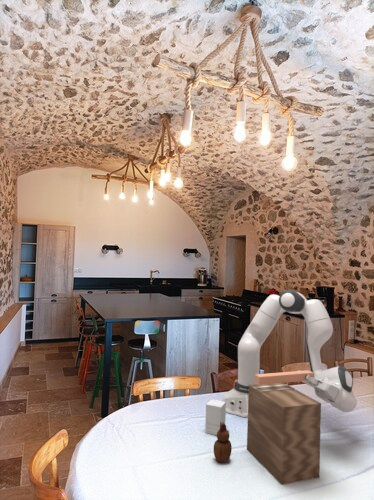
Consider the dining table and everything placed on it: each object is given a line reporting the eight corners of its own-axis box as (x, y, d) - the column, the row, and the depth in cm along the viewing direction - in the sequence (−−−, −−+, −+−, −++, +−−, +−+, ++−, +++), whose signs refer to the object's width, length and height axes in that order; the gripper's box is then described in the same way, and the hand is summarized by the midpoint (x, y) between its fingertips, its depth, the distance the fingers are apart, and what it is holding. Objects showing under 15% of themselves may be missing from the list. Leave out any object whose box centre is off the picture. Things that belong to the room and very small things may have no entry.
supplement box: (225, 430, 160) (226, 401, 160) (220, 436, 153) (221, 407, 153) (210, 426, 163) (211, 398, 163) (204, 432, 156) (205, 403, 157)
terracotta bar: (308, 377, 149) (308, 370, 149) (313, 379, 146) (313, 372, 146) (254, 382, 140) (254, 374, 140) (259, 384, 137) (259, 377, 137)
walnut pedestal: (280, 444, 148) (281, 381, 149) (319, 477, 125) (321, 402, 127) (246, 449, 143) (248, 384, 144) (281, 484, 120) (283, 406, 122)
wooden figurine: (218, 466, 130) (220, 424, 131) (210, 458, 135) (212, 418, 136) (233, 462, 133) (235, 421, 134) (225, 454, 138) (226, 415, 139)
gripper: (312, 375, 160) (290, 361, 156) (346, 390, 141) (322, 374, 137) (306, 388, 159) (284, 374, 155) (340, 405, 139) (315, 389, 136)
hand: (302, 374), depth 146 cm, fingers closed on terracotta bar, 3 cm apart
